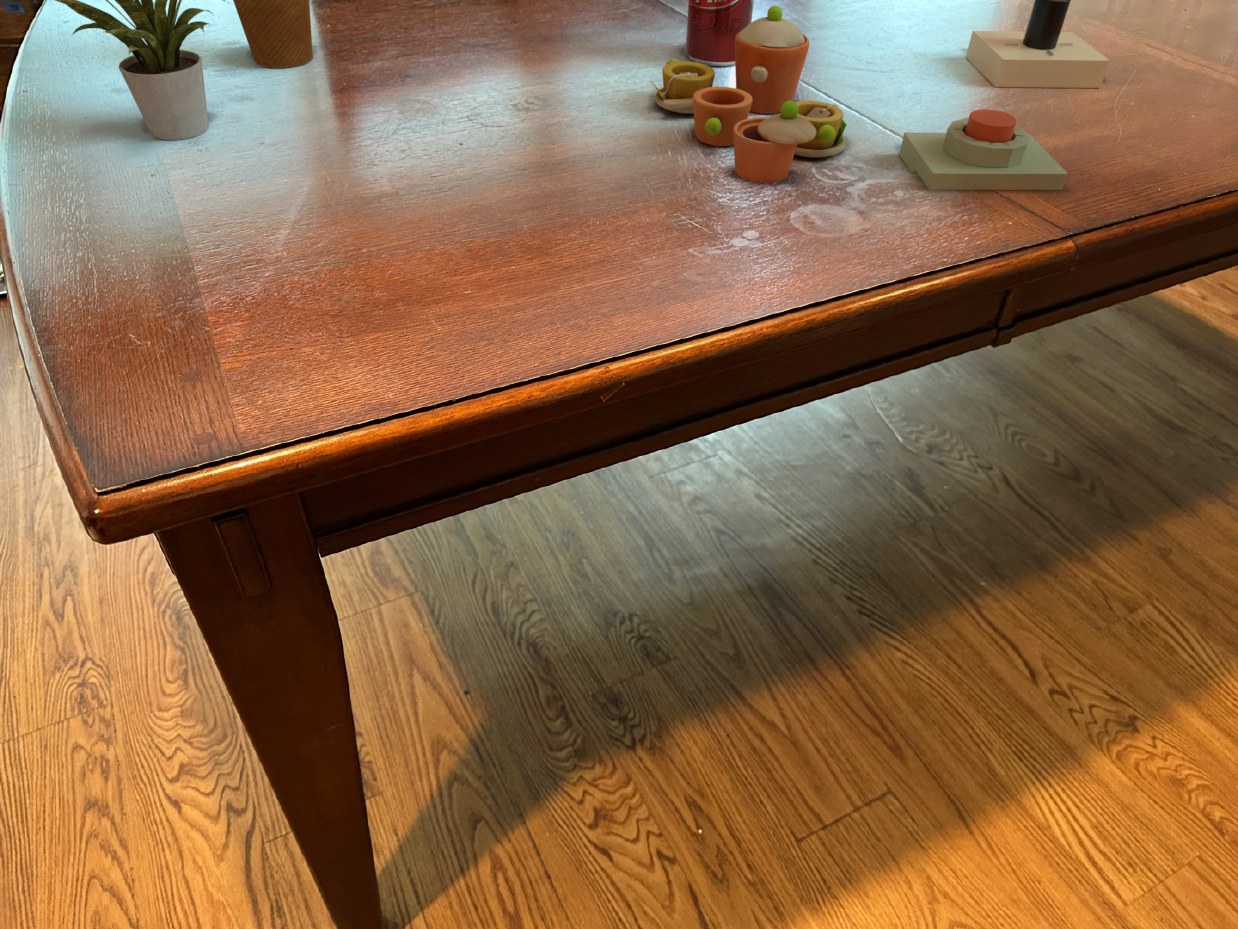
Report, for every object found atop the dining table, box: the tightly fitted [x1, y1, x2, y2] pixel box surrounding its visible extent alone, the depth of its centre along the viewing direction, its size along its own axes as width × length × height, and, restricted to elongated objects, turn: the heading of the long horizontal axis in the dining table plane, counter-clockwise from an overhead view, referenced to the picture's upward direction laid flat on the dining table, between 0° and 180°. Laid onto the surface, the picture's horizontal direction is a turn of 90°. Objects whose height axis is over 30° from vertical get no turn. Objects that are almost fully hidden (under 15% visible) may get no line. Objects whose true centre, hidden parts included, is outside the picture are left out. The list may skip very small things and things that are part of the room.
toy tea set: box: [649, 5, 848, 184], centre depth 88 cm, size 26×16×10 cm, turn 17°
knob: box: [1023, 0, 1072, 50], centre depth 104 cm, size 4×4×5 cm
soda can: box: [684, 0, 755, 67], centre depth 104 cm, size 7×7×12 cm
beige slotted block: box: [965, 30, 1111, 89], centre depth 106 cm, size 12×10×3 cm
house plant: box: [54, 0, 214, 141], centre depth 84 cm, size 14×14×16 cm
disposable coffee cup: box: [232, 0, 314, 69], centre depth 100 cm, size 10×10×12 cm
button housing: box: [898, 117, 1068, 191], centre depth 84 cm, size 12×9×4 cm
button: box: [965, 108, 1018, 143], centre depth 82 cm, size 4×4×2 cm
